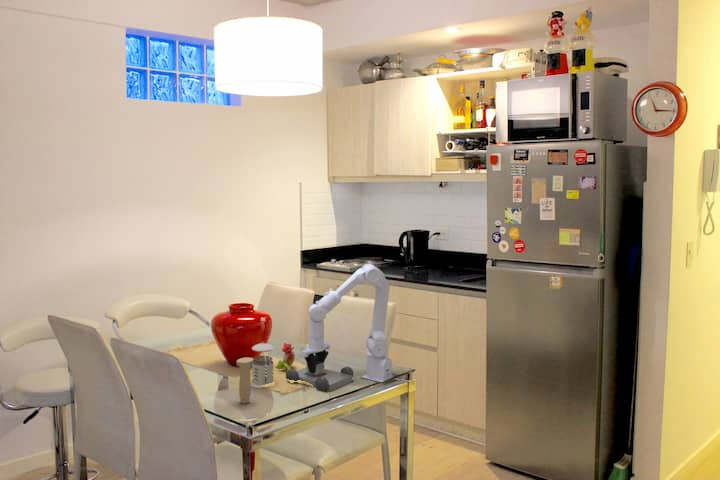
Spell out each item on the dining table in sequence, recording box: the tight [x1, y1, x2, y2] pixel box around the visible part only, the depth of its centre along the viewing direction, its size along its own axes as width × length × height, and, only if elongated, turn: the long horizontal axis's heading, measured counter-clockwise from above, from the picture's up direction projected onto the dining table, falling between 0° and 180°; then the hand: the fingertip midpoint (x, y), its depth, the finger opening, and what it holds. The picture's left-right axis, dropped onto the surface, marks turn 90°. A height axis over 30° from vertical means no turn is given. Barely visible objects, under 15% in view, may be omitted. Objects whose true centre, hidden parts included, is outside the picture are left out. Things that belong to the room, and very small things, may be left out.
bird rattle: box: [275, 342, 296, 371], centre depth 281 cm, size 6×11×9 cm
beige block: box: [306, 361, 325, 377], centre depth 268 cm, size 5×4×5 cm
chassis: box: [285, 366, 354, 392], centre depth 267 cm, size 20×17×5 cm
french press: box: [251, 317, 275, 389], centre depth 261 cm, size 10×12×25 cm
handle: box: [236, 356, 254, 405], centre depth 242 cm, size 5×6×15 cm
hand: (315, 371), depth 268 cm, fingers closed on beige block, 4 cm apart
